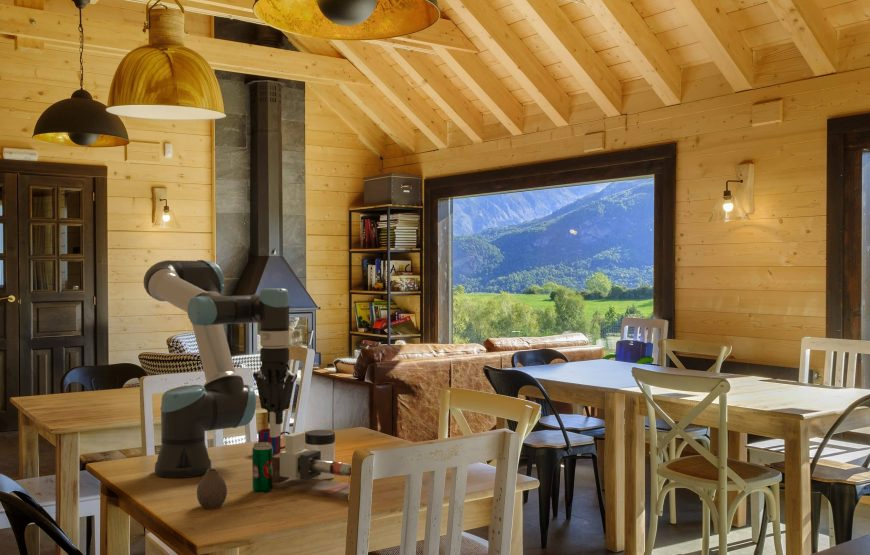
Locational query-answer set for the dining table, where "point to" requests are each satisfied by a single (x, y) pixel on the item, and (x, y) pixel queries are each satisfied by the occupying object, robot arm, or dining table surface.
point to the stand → (308, 484)
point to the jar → (322, 447)
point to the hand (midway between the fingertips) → (275, 436)
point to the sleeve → (292, 455)
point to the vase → (211, 490)
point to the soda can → (262, 467)
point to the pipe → (328, 467)
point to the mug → (271, 439)
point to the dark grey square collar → (305, 464)
